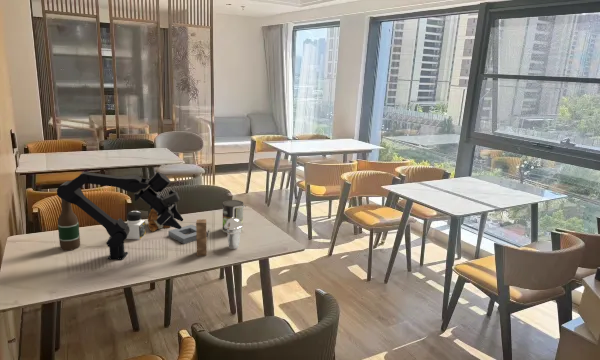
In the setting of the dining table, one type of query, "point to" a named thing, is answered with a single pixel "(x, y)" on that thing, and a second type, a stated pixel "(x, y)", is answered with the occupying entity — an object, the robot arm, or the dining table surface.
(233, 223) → the cup with straw
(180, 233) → the socket
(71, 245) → the beer bottle
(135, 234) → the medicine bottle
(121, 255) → the robot arm
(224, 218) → the coffee can
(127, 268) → the dining table surface
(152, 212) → the stuffed squirrel
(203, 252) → the peg
